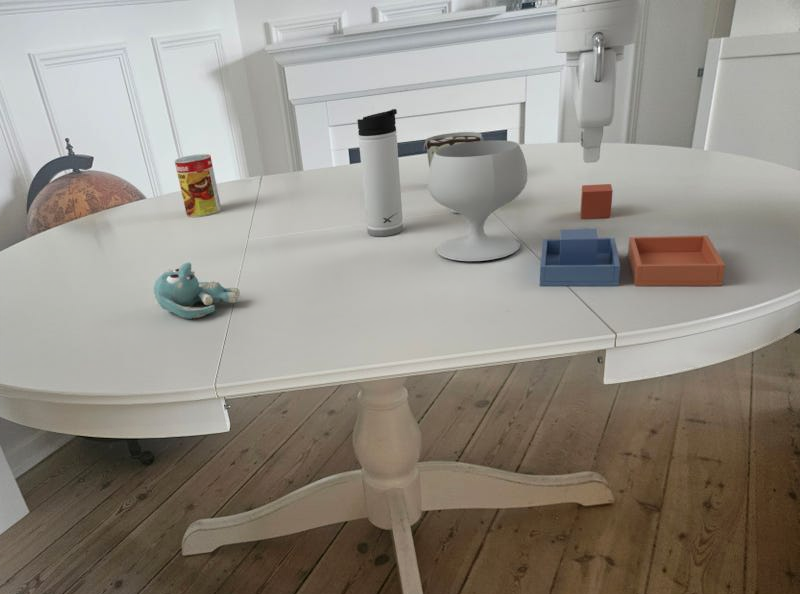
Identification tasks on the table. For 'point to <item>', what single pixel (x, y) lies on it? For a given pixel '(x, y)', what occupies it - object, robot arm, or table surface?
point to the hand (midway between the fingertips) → (589, 153)
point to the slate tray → (580, 266)
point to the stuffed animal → (190, 293)
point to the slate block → (578, 247)
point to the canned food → (198, 185)
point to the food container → (449, 141)
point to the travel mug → (380, 173)
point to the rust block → (596, 201)
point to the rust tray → (675, 261)
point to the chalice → (477, 193)
